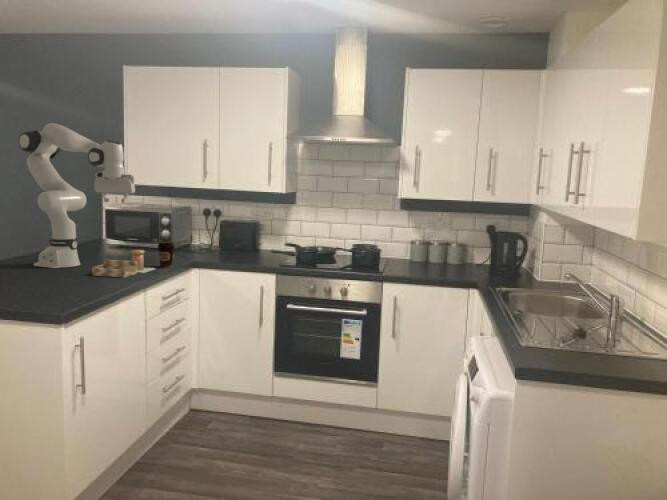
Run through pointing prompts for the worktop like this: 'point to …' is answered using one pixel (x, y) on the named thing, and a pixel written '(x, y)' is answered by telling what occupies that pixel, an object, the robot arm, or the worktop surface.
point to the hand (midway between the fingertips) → (115, 202)
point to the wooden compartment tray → (115, 268)
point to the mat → (145, 270)
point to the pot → (138, 258)
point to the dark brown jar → (166, 254)
